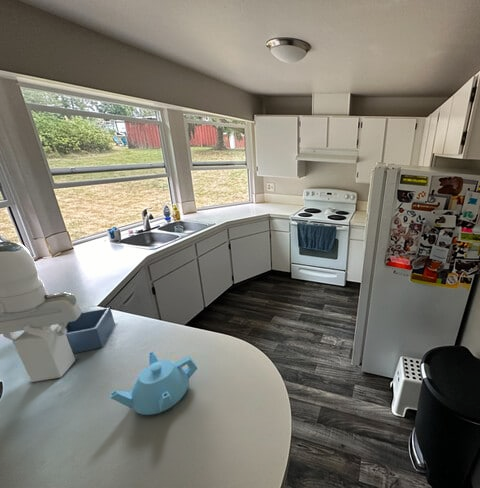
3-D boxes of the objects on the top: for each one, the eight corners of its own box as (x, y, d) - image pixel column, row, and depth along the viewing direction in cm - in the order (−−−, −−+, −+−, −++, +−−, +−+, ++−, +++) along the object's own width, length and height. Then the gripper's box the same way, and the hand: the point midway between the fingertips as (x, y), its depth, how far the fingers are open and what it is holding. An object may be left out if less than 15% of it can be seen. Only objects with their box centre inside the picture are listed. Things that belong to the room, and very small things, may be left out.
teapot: (170, 425, 64) (163, 394, 61) (114, 420, 65) (104, 389, 61) (201, 376, 79) (197, 348, 75) (155, 372, 79) (149, 345, 76)
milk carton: (31, 382, 74) (6, 330, 68) (49, 364, 81) (27, 314, 74) (61, 377, 76) (39, 326, 70) (75, 360, 83) (57, 311, 76)
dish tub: (51, 358, 83) (43, 338, 80) (70, 332, 95) (64, 314, 92) (102, 347, 88) (96, 328, 86) (115, 324, 100) (110, 307, 97)
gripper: (77, 286, 76) (90, 323, 81) (-19, 299, 68) (2, 340, 73) (67, 296, 71) (82, 336, 76) (-39, 312, 63) (-15, 355, 68)
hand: (42, 338), depth 74 cm, fingers open, 8 cm apart
